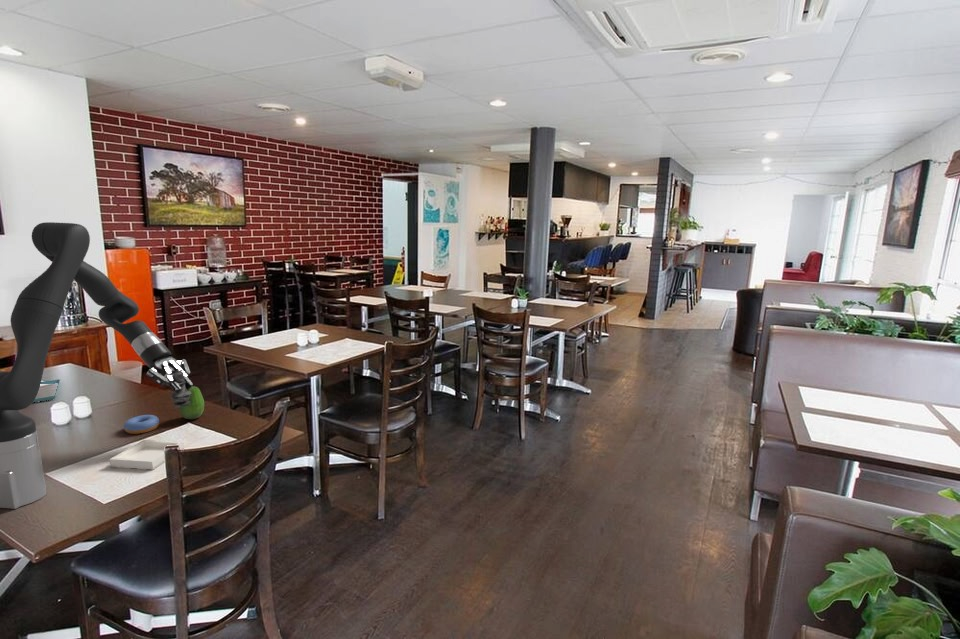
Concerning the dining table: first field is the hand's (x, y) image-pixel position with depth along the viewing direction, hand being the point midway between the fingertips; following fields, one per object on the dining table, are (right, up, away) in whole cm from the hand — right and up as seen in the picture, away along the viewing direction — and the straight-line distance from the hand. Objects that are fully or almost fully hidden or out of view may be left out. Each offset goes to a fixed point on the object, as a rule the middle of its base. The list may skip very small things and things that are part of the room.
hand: (185, 389), depth 159 cm
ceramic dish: (-4, -19, -11) cm, 22 cm away
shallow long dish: (-82, -8, +42) cm, 93 cm away
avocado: (-9, -13, +19) cm, 25 cm away
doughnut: (-20, -15, +10) cm, 27 cm away
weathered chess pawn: (-2, -5, +2) cm, 6 cm away
